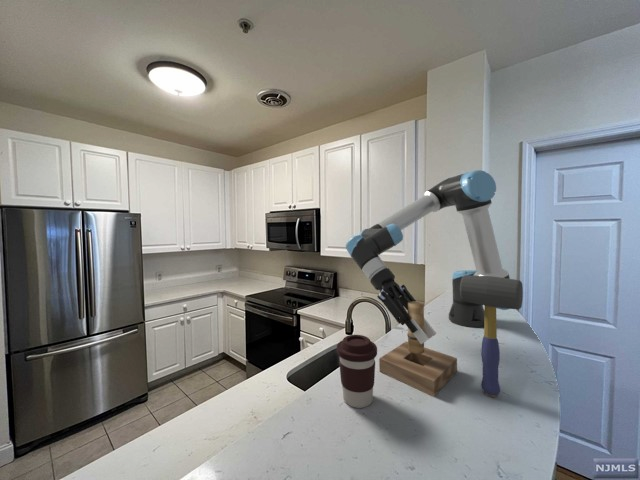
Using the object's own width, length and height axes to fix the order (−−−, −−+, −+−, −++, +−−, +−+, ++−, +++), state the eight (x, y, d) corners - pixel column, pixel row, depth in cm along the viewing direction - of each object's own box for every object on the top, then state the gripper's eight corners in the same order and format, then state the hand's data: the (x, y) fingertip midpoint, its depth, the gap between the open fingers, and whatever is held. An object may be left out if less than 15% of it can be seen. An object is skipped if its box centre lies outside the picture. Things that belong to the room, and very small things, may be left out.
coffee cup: (364, 382, 69) (363, 329, 68) (386, 406, 60) (385, 344, 59) (331, 392, 65) (330, 335, 65) (349, 418, 56) (348, 352, 56)
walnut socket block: (406, 352, 85) (406, 341, 85) (457, 371, 73) (457, 358, 73) (379, 371, 74) (379, 358, 74) (434, 396, 62) (433, 381, 62)
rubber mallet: (524, 398, 61) (524, 276, 60) (519, 414, 56) (519, 281, 55) (467, 377, 70) (466, 271, 69) (458, 390, 65) (457, 275, 64)
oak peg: (412, 345, 77) (411, 300, 76) (427, 350, 73) (427, 303, 73) (404, 350, 74) (404, 303, 73) (420, 355, 70) (419, 306, 70)
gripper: (386, 277, 90) (432, 336, 78) (355, 285, 78) (405, 355, 67) (399, 264, 86) (450, 323, 74) (369, 270, 74) (424, 342, 62)
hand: (429, 338), depth 70 cm, fingers closed on oak peg, 4 cm apart
